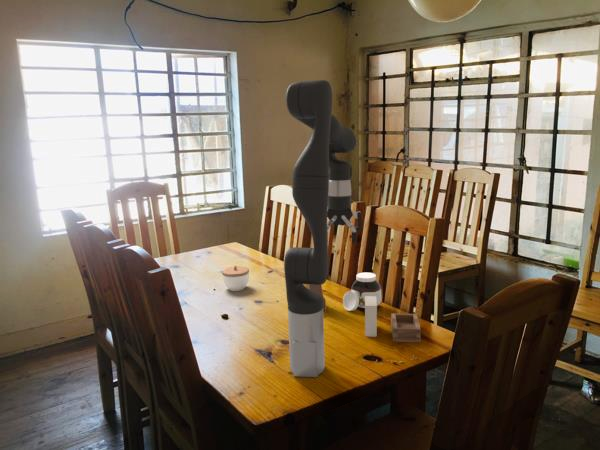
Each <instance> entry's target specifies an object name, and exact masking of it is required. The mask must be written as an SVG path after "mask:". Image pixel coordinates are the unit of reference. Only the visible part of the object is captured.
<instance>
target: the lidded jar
mask: <svg viewBox="0 0 600 450" xmlns="http://www.w3.org/2000/svg"><path fill="white" fill-rule="evenodd" d="M221 274H222V280H223V281H222V282H223V284H224V286H225V287H226V288H227V289H228V290H229V291H232V292H238V291H239V292H240V291H243V290H244V289H245V287H246V286H247V285H248V284H249V281H250V280H249V279H250V268H249V267H247V266H241V265H239V266H238V265H233V266H228V267H226V268H223V269H222V270H221Z"/></svg>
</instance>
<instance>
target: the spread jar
mask: <svg viewBox="0 0 600 450" xmlns="http://www.w3.org/2000/svg"><path fill="white" fill-rule="evenodd" d="M355 278H356V280H355V281H354V282H353V283H352V286H351V290H348V291H346V292H345V293H344V295H343V297H342V305H343V308H344V309H345V310H346V311H347V312H348V311H349V312H352V311H355V310H357V309H359V310H360V309H361V311H365V296H376V300H377V308H378V306H380V304H381V302H382V286H381V284H380V282H379V281H378V280H377V275H376V273H374V272H365V271H364V272H360V273H357V274H356V277H355Z"/></svg>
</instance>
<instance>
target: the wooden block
mask: <svg viewBox="0 0 600 450" xmlns="http://www.w3.org/2000/svg"><path fill="white" fill-rule="evenodd" d="M305 285H306V286H305V287H307V288H308V289H309V290H311V291H313V292H315V293H318V294H319V295H320V296H321V297H322V298H323V313H324V312H326V311H327V308H326V305H327V304H326V302H327V300H326V298H325V297H324V293H323V288H322V285H314V284H305Z"/></svg>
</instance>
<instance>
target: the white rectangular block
mask: <svg viewBox="0 0 600 450" xmlns="http://www.w3.org/2000/svg"><path fill="white" fill-rule="evenodd" d="M377 324H378V307H377V300H376V296H365V310H364V336H365V337H368V338H370V337H371V338H372V337H373V338H376V337H378V335H377V334H378V332H377V331H378V330H377V329H378V325H377Z"/></svg>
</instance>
